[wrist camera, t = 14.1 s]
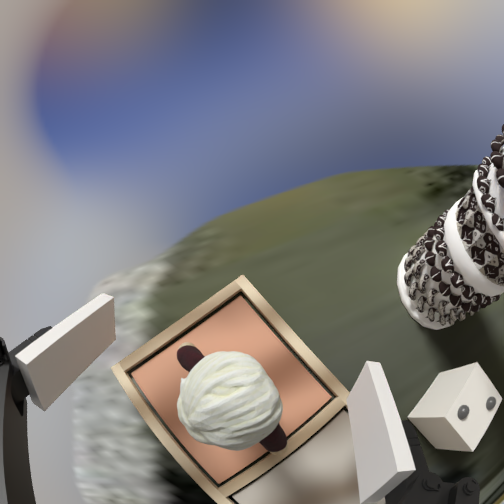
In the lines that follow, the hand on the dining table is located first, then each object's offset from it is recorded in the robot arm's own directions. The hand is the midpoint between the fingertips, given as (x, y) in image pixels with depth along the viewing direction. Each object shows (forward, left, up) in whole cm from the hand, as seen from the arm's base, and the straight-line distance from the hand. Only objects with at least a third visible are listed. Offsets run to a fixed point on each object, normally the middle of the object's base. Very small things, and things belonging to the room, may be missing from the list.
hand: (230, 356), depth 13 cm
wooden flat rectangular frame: (-11, +7, -7) cm, 15 cm away
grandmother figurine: (-1, +2, -7) cm, 7 cm away
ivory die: (-18, -2, -7) cm, 19 cm away
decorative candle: (-14, -13, -7) cm, 20 cm away
